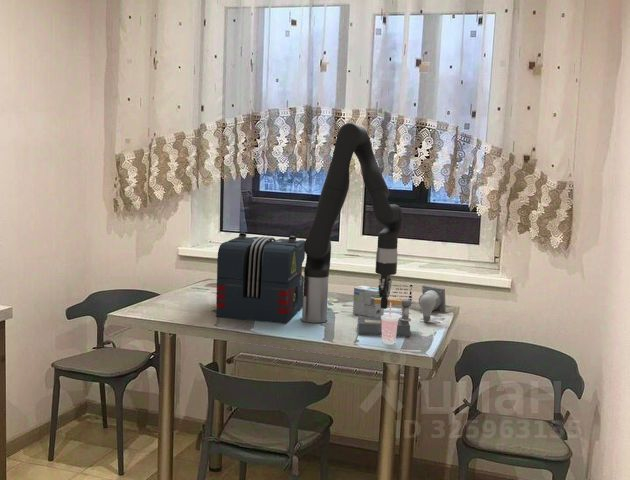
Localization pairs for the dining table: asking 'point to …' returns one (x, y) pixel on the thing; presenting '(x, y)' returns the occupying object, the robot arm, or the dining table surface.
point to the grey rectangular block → (375, 324)
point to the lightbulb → (427, 306)
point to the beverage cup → (389, 328)
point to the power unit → (260, 278)
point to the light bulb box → (366, 302)
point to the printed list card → (434, 291)
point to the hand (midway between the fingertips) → (383, 308)
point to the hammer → (392, 301)
